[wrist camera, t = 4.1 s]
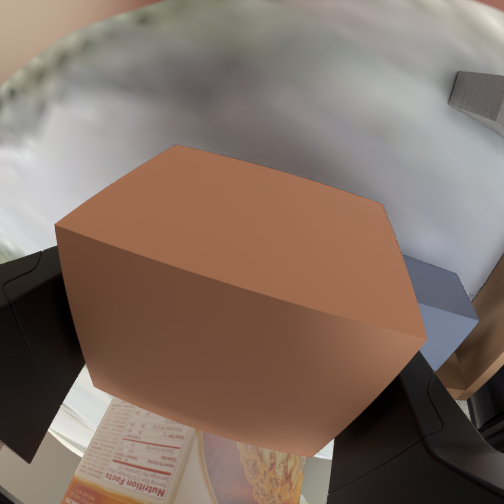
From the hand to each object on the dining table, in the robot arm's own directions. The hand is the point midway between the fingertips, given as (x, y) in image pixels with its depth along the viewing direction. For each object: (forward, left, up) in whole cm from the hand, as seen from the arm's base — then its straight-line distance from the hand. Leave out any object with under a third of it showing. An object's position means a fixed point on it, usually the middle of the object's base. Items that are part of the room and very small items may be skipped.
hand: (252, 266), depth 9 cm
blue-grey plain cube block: (-6, -11, -11) cm, 16 cm away
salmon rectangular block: (0, 0, -1) cm, 1 cm away
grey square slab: (+8, -11, -11) cm, 17 cm away
